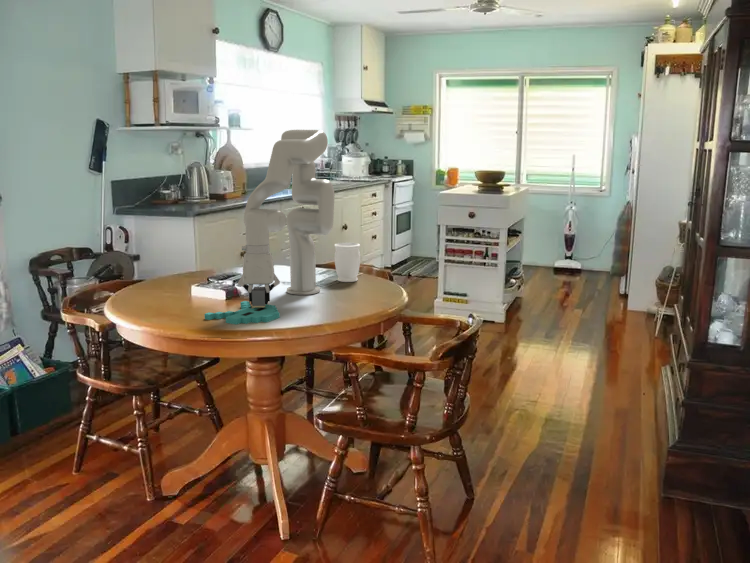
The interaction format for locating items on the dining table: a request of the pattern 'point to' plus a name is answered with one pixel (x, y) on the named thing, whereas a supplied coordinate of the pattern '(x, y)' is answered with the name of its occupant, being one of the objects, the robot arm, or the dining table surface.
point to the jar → (347, 261)
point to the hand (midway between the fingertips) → (259, 303)
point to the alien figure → (247, 314)
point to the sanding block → (258, 297)
